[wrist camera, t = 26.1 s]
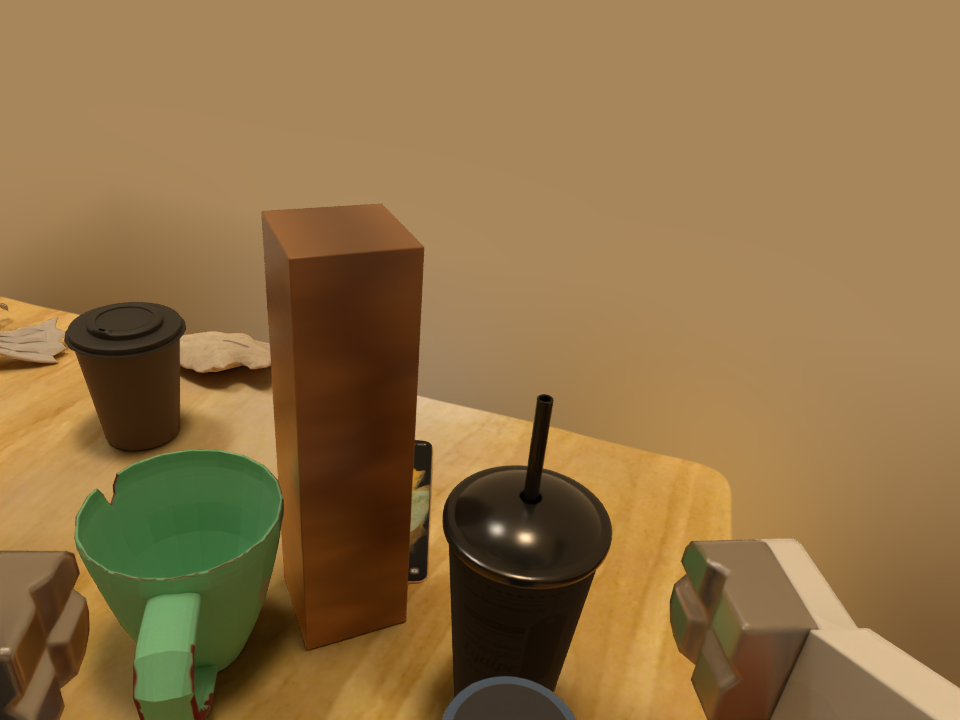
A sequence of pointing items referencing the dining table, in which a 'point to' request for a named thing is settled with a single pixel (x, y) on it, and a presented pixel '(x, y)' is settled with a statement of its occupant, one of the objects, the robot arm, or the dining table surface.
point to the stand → (344, 410)
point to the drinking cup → (520, 565)
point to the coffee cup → (131, 370)
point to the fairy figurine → (32, 342)
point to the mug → (183, 568)
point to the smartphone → (420, 513)
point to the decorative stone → (222, 352)
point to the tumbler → (507, 701)
